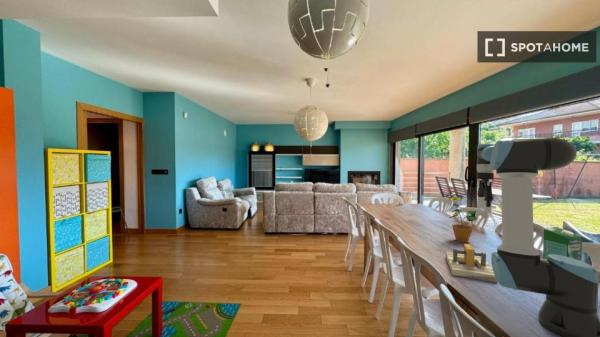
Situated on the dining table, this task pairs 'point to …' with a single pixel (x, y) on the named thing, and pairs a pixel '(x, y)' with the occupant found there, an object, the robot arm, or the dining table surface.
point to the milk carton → (562, 243)
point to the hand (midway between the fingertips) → (484, 210)
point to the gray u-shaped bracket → (455, 251)
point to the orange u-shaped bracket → (469, 255)
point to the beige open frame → (480, 273)
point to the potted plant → (462, 231)
